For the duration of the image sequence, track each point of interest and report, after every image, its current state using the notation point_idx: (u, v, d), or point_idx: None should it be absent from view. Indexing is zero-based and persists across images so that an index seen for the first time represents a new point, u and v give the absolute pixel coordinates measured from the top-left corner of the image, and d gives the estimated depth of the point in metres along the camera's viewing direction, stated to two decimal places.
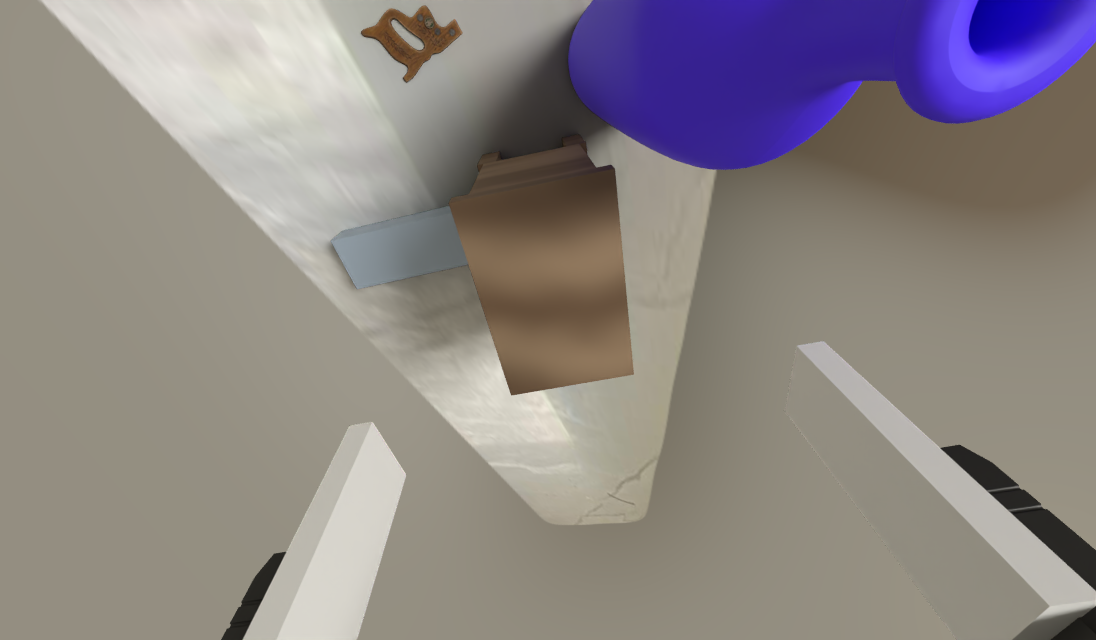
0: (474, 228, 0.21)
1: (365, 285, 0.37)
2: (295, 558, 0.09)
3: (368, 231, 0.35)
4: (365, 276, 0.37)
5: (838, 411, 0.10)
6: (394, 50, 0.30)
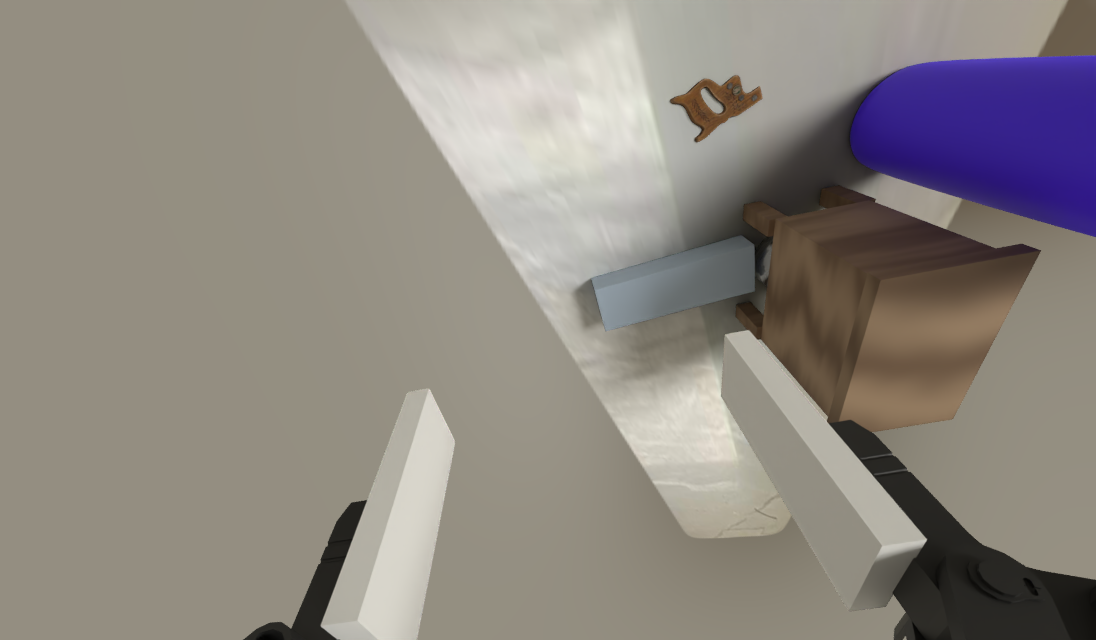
0: (889, 300, 0.23)
1: (614, 327, 0.40)
2: (378, 502, 0.10)
3: (629, 279, 0.37)
4: (616, 319, 0.39)
5: (753, 392, 0.11)
6: (696, 114, 0.32)
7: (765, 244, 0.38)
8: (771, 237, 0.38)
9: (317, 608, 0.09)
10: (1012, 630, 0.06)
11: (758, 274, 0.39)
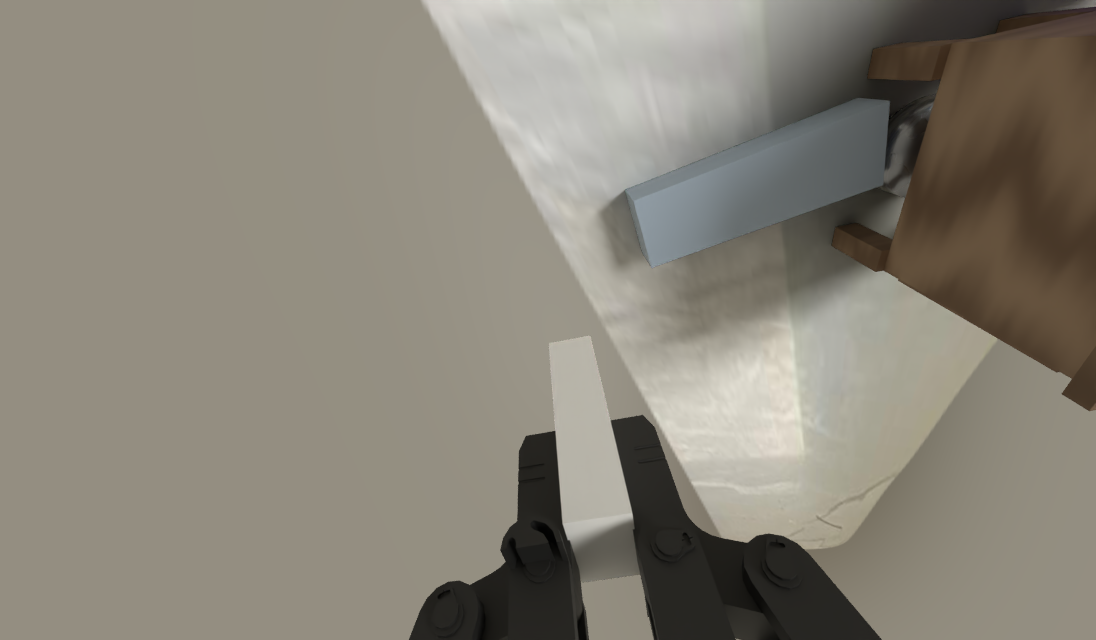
0: None
1: (664, 260, 0.27)
2: (567, 429, 0.10)
3: (686, 178, 0.24)
4: (667, 246, 0.26)
5: None
6: None
7: (897, 120, 0.25)
8: (907, 109, 0.24)
9: None
10: (679, 585, 0.07)
11: None
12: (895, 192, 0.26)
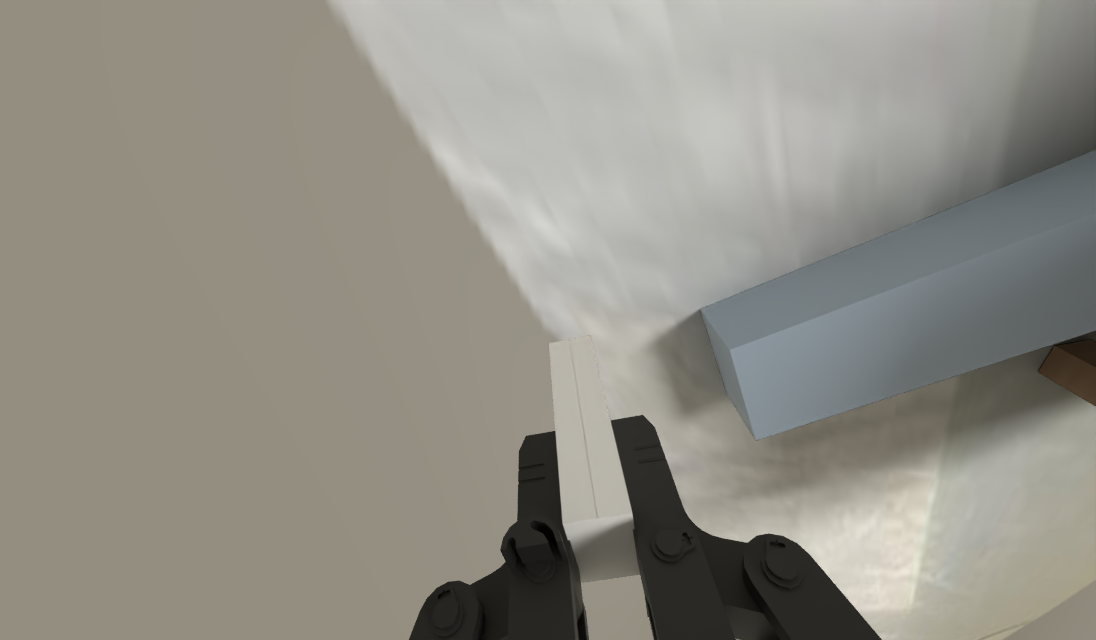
0: None
1: (779, 429, 0.15)
2: (567, 429, 0.10)
3: (835, 304, 0.12)
4: (788, 410, 0.15)
5: None
6: None
7: None
8: None
9: None
10: (679, 585, 0.07)
11: None
12: None
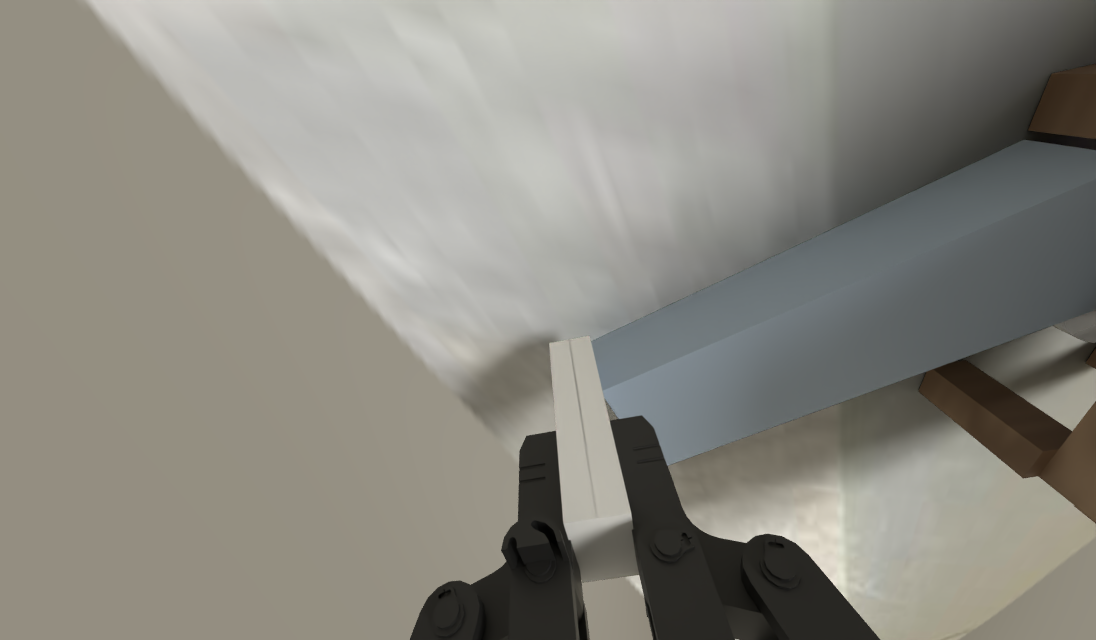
0: None
1: (674, 460, 0.15)
2: (568, 429, 0.10)
3: (696, 344, 0.13)
4: (677, 442, 0.15)
5: None
6: None
7: None
8: None
9: None
10: (678, 585, 0.07)
11: None
12: (1073, 334, 0.14)
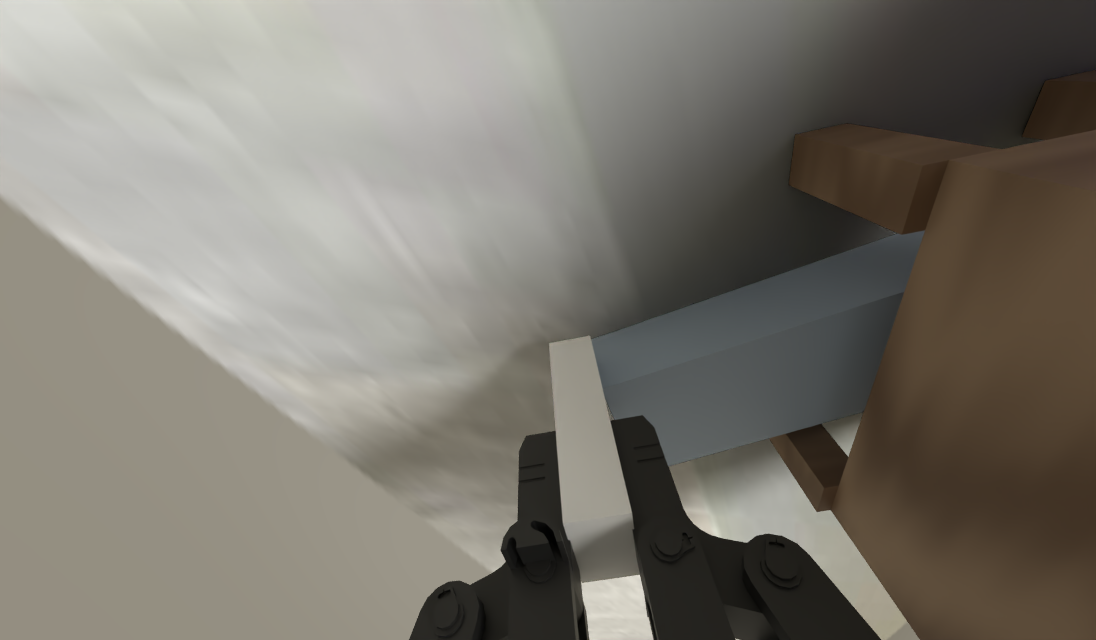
0: None
1: None
2: (567, 429, 0.10)
3: (701, 351, 0.13)
4: (666, 448, 0.15)
5: None
6: None
7: None
8: None
9: None
10: (679, 585, 0.07)
11: None
12: None
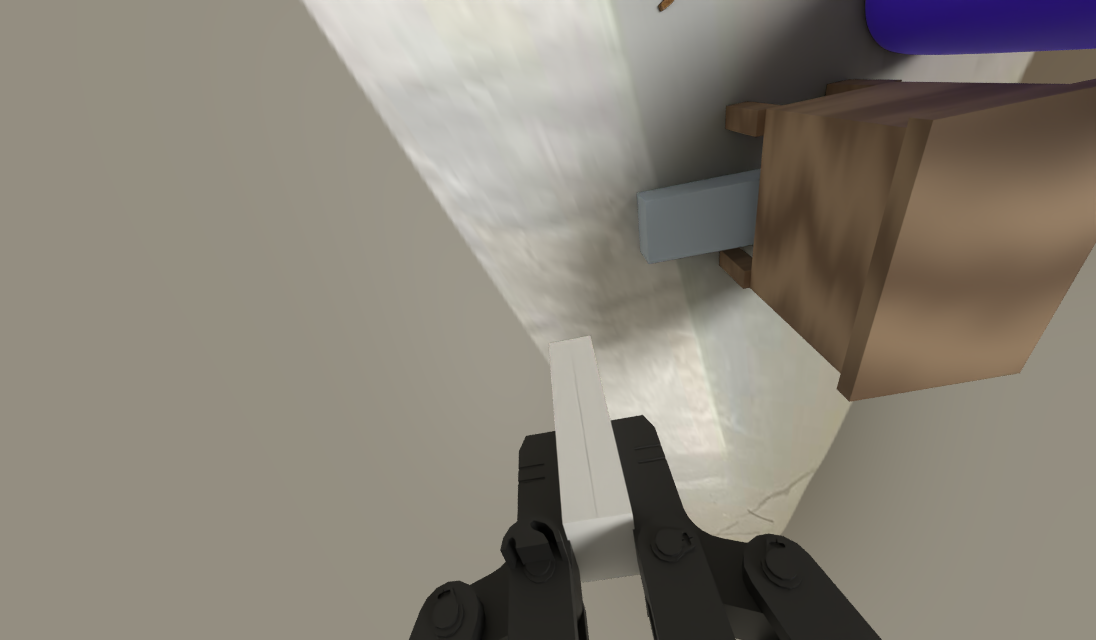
0: (945, 161, 0.14)
1: (660, 259, 0.31)
2: (567, 429, 0.10)
3: (692, 191, 0.29)
4: (665, 247, 0.31)
5: None
6: None
7: None
8: None
9: None
10: (679, 585, 0.07)
11: None
12: None
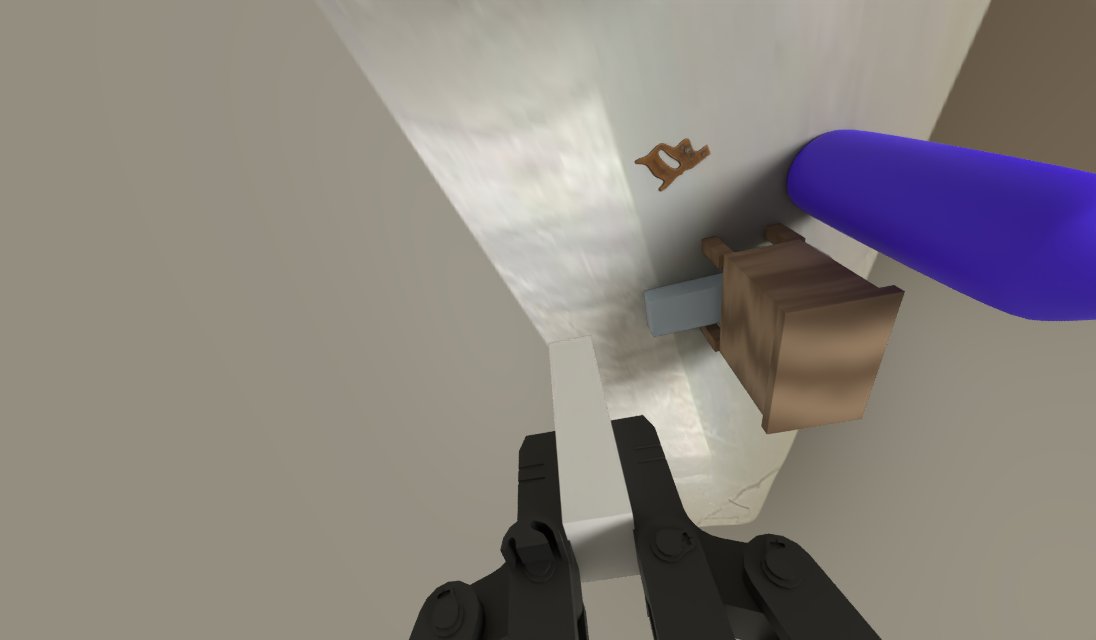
0: (795, 328, 0.30)
1: (661, 333, 0.47)
2: (567, 429, 0.10)
3: (679, 293, 0.44)
4: (664, 326, 0.46)
5: None
6: (657, 171, 0.39)
7: None
8: None
9: None
10: (679, 585, 0.07)
11: None
12: None
